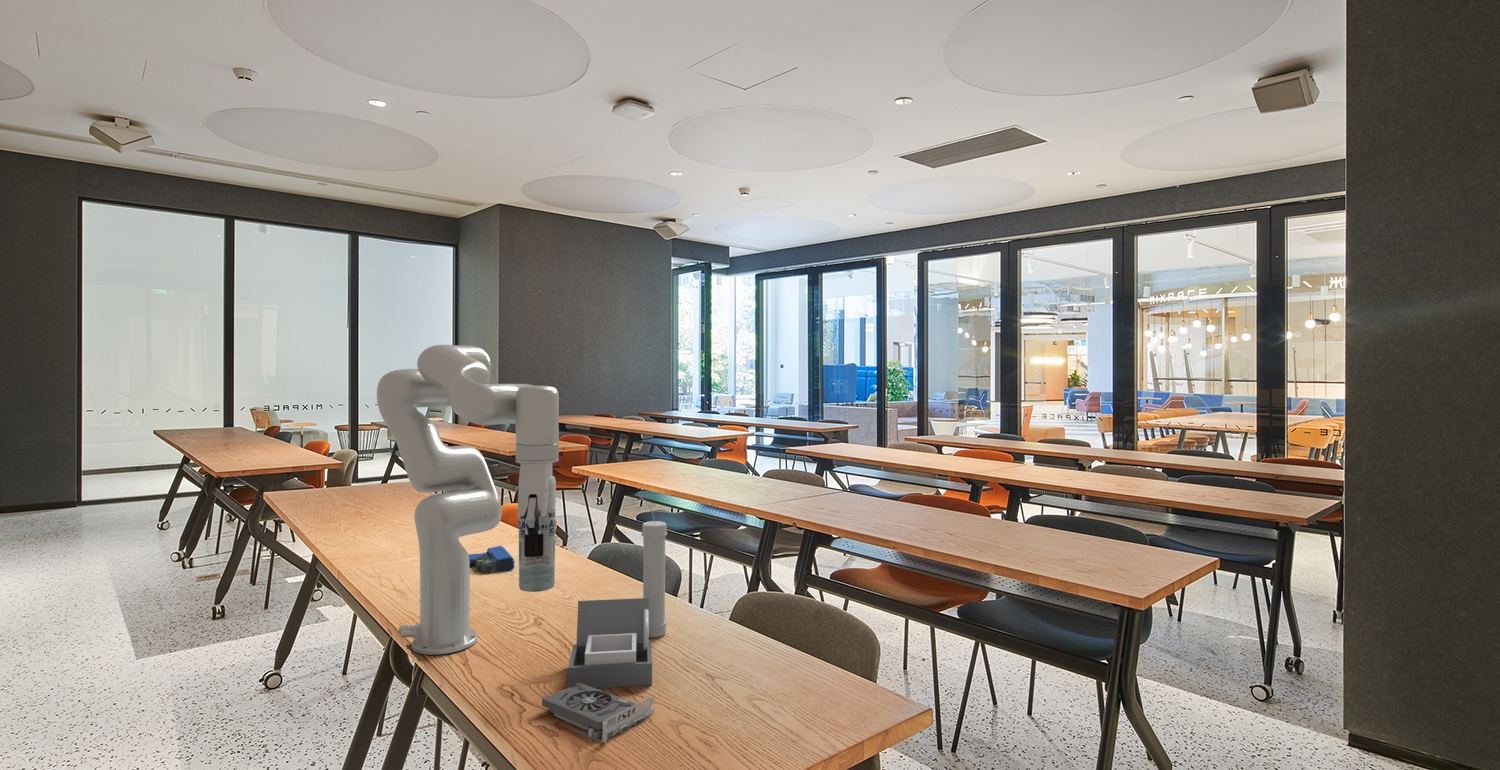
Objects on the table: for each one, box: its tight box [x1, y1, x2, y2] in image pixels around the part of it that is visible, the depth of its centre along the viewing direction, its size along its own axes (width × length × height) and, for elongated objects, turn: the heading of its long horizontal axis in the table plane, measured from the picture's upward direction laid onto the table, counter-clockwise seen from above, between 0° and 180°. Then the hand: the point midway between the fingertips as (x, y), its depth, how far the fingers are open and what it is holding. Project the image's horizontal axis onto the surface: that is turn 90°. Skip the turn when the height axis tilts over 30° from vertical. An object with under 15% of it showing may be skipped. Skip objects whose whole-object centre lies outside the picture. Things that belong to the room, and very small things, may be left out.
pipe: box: [639, 496, 668, 639], centre depth 154 cm, size 6×6×30 cm
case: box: [567, 597, 653, 689], centre depth 136 cm, size 15×16×11 cm
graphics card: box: [541, 683, 655, 745], centre depth 118 cm, size 17×4×12 cm
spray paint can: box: [518, 475, 557, 593], centre depth 129 cm, size 6×6×20 cm
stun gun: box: [468, 545, 516, 574], centre depth 206 cm, size 4×16×15 cm
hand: (537, 550), depth 129 cm, fingers closed on spray paint can, 6 cm apart
